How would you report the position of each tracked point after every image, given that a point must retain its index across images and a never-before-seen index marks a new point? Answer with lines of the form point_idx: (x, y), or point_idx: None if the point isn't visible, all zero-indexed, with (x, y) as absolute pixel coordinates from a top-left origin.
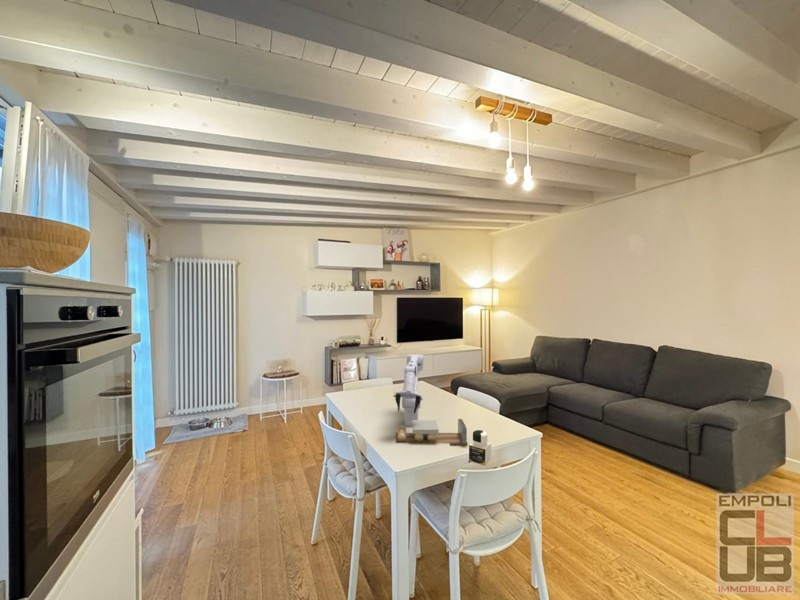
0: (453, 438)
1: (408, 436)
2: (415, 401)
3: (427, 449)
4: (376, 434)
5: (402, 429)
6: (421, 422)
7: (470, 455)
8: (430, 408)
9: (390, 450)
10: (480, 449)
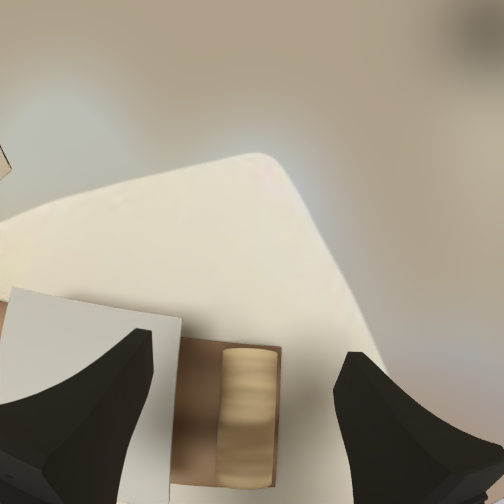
0: None
1: (198, 431)
2: (95, 422)
3: (114, 280)
4: None
5: (247, 420)
6: None
7: (3, 152)
8: None
9: (301, 291)
10: None
